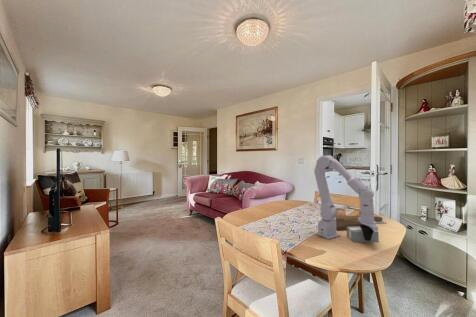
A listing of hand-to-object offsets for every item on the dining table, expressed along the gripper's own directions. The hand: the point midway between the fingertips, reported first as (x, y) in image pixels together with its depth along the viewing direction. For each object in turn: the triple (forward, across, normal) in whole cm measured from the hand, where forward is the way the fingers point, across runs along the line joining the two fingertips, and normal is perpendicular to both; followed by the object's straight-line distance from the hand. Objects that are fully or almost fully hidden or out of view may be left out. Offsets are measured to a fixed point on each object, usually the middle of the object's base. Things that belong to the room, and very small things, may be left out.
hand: (367, 240), depth 104 cm
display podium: (+1, +20, 0) cm, 20 cm away
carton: (+2, +6, 0) cm, 6 cm away
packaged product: (+2, +38, -21) cm, 43 cm away
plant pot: (+1, +38, -2) cm, 38 cm away
